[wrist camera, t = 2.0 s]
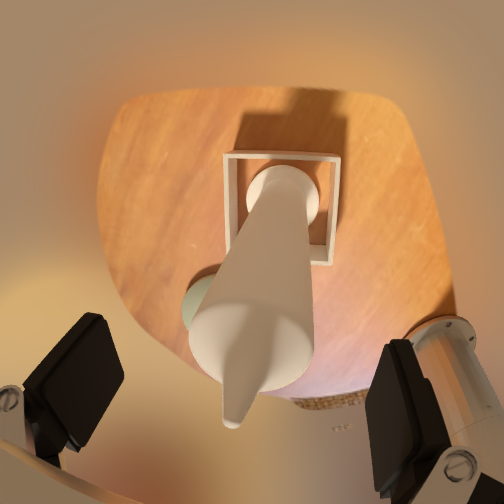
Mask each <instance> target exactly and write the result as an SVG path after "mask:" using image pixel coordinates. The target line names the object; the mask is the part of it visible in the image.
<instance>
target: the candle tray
mask: <svg viewBox="0 0 504 504" xmlns="http://www.w3.org/2000/svg"><path fill="white" fill-rule="evenodd" d="M237 158H249V159H290V160H311V161H328V162H331V168H330V187H329V203H328V217H327V229H326V241H325V245H311V244H309V246H310V261H311V265H325V266H332V262H333V253H334V243H335V233H336V222H337V210H338V197H339V182H340V164H341V157H339V156H338V155H337V154H335V153H321V152H303V151H275V150H232V151H229V152H227V153H224V154H223V164H224V204H225V235H226V255H227V253H228V251H229V250H230V248H231V246H232V244H233V242H234V240H235V239H236V237H237V235H238V189H237Z"/></svg>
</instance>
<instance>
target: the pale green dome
mask: <svg viewBox="0 0 504 504" xmlns="http://www.w3.org/2000/svg"><path fill="white" fill-rule="evenodd" d="M216 274H217V273H212V274H209V275H206V276H204V277H201V278H200V279H198V280H197V281H196V282H195V283H193V284H192V286H191V287H190V288H189V290H188V291H187V293H186V295H185V296H184V299H183V302H182V307H181V313H182V318H183V322H184V324H185V326H186V328H187V330H188V331H189V329H190V324H191V321H192V319H193V317H194V315H195V313H196V311H197V309H198V307H199V306H200V304H201V302H202V300H203V298H204V296H205V294H206V292H207V291H208V289H209V287H210V285H211V283H212V281H213V279H214V277H215V276H216Z"/></svg>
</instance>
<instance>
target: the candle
mask: <svg viewBox="0 0 504 504" xmlns="http://www.w3.org/2000/svg"><path fill="white" fill-rule="evenodd" d="M246 204H247V209H248V212H249V215H248V217H247V219H246V220H245V222H244V224H243V226H242V228H241V229H240V231H239V233H238V235H237V237H236V239H235V240H234V242H233V244H232V246H231V248H230V250H229V251H228V253H227V255H226V257H225V259H224V261H223V263H222V264H221V266H220V268H219V270H218V272H217V274H216V276H215V277H214V279H213V281H212V283H211V285H210V287H209V289H208V291H207V292H206V294H205V296H204V298H203V300H202V302H201V304H200V306H199V307H198V309H197V311H196V313H195V315H194V317H193V319H192V321H191V324H190V329H189V345H190V349H191V351H192V354H193V356H194V358H195V359H196V361H197V363H198V364H199V365H200V367H201V368H202V369H203V370H204V371H205V372H206V373H207V374H208V375H210V376H211V377H212V378H214V379H215V380H217V381H219V382H220V383H221V384H222V415H223V417H222V418H223V423H224V425H225V426H227V427H228V428H232V429H234V428H238V427H239V426H240V425H241V423H242V422H243V420H244V418H245V416H246V414H247V412H248V411H249V409H250V407H251V405H252V403H253V401H254V399H255V397H256V396H257V394H258V393H259V392H263V391H271V390H275V389H279V388H282V387H284V386H286V385H288V384H290V383H292V382H293V381H295V380H296V379H297V378H299V377H300V376H301V375H302V374H303V373H304V372H305V371H306V369H307V368H308V366H309V364H310V362H311V359H312V356H313V352H314V323H313V298H312V278H311V261H310V246H309V232H308V226H309V225H310V224H311V223H312V222H313V220H314V219H315V217H316V215H317V212H318V208H319V195H318V191H317V188H316V186H315V184H314V182H313V181H312V179H311V178H310V177H309V176H308V175H307V174H306V173H305V172H303V171H302V170H300V169H298V168H296V167H293V166H288V165H276V166H272V167H269V168H267V169H265V170H263V171H261V172H260V173H259V174H258V175H257V176H256V177H255V178H254V179H253V180H252V182H251V184H250V186H249V188H248V191H247V196H246Z"/></svg>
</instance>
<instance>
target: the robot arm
mask: <svg viewBox="0 0 504 504" xmlns="http://www.w3.org/2000/svg"><path fill="white" fill-rule="evenodd" d="M475 345H476V334H475V331H474V329H473V327H472V326H471V324H470V323H469V322H468V321H467V320H466V319H464V318H462V317H459V316H452V315H448V316H441V317H437V318H434V319H432V320H429V321H427V322H425V323H423V324H422V325H420V326H418V327H417V328H416V329H414V330H413V331H412V332H411V333H409V335H408V336H407V337H406V338H405V339H392V340H391V341H390V343H389V344H385V345H384V348H383V351H382V354H381V357H380V360H379V363H378V366H377V369H376V372H375V375H374V378H373V381H372V383H371V386H370V389H369V392H368V394H367V397H366V401H365V410H366V417H367V424H368V432H369V439H370V448H371V456H372V466H373V476H374V487H375V491H376V492H380V499H383V498H391V504H504V410H503V407H502V405H501V403H500V401H499V399H498V397H497V395H496V393H495V391H494V389H493V387H492V385H491V383H490V381H489V379H488V377H487V375H486V373H485V371H484V369H483V368H482V366H481V364H480V362H479V360H478V358H477V357H476V355H475V353H474V350H475ZM123 380H124V371H123V368H122V366H121V363H120V360H119V357H118V354H117V351H116V348H115V345H114V342H113V340H112V336H111V333H110V330H109V327H108V323H107V321H106V320H105V319H104V318H103V316H102V315H100V314H95V313H90V312H87V313H85V314H84V315H83V316H82V317H81V318H80V319H79V320H78V321H77V323H76V324H75V325H74V326H73V327H72V328H71V329H70V330H69V331H68V332H67V333H66V334H65V336H64V337H63V338H62V339H61V340H60V341H59V342H58V344H57V345H56V346H55V347H54V348H53V349H52V350H51V351H50V352H49V353H48V355H47V356H46V357H45V358H44V359H43V360H42V362H41V363H40V364H39V365H38V366H37V367H36V369H35V370H34V371H33V372H32V373H31V374H30V376H29V377H28V378H27V379H26V380H25V382H24V383H23V384H22V385H23V386H24V388H25V390H24V391H22V390H21V388H19V387H17V386H15V385H7V386H4V387H2V388H0V504H144V503H141V502H138V501H135V500H132V499H129V498H126V497H124V496H121V495H118V494H115V493H112V492H110V491H108V490H105V489H102V488H100V487H98V486H95V485H93V484H91V483H88V482H86V481H84V480H82V479H80V478H77V477H75V476H73V475H71V474H69V473H68V472H67V468H66V463H65V459H64V454H63V448H64V447H65V446H66V447H67V448H68V449H71V450H73V451H75V452H77V453H78V452H79V451H80V449H81V447H84V446H85V445H86V444H87V442H88V441H89V439H90V437H91V435H92V433H93V432H94V430H95V428H96V427H97V425H98V423H99V421H100V419H101V418H102V416H103V414H104V413H105V411H106V409H107V407H108V406H109V404H110V402H111V401H112V399H113V397H114V396H115V394H116V392H117V391H118V389H119V387H120V385H121V384H122V382H123Z"/></svg>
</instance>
